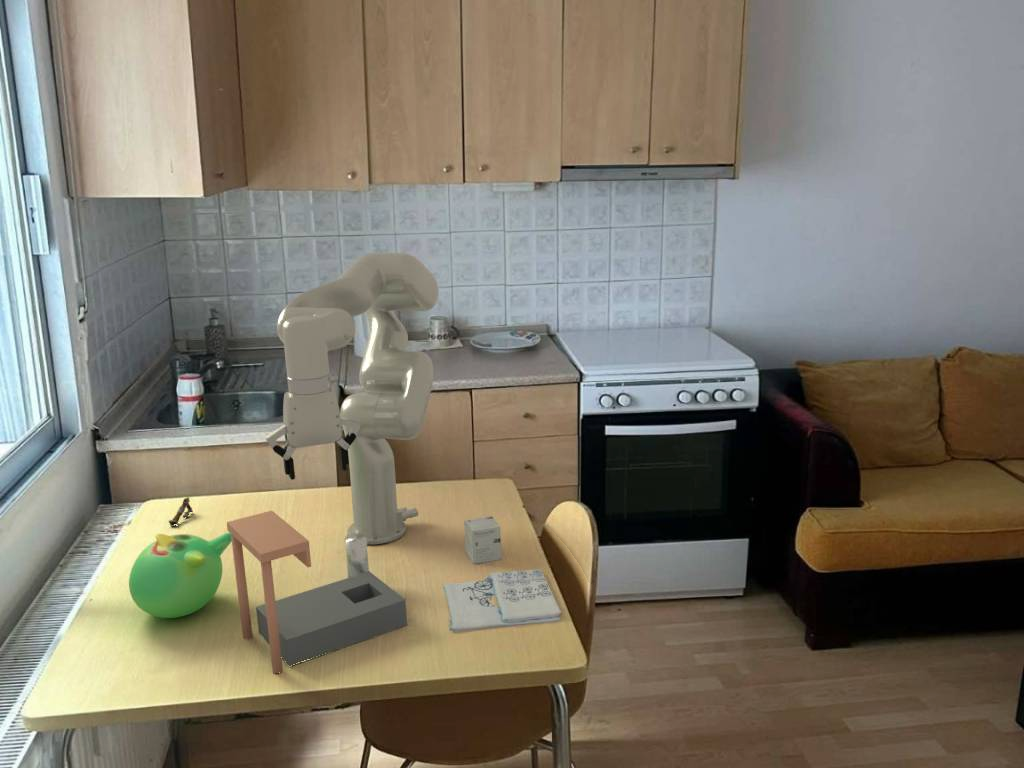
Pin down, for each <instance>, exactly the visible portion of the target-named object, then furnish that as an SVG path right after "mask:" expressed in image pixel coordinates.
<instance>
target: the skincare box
mask: <svg viewBox="0 0 1024 768" xmlns="http://www.w3.org/2000/svg"><path fill="white" fill-rule="evenodd" d="M463 525H464V541H465V542H464V544H465V545H464V548H465V552H464V553H465V554H466V555H467V557H468V558H469V560H470V561H471V563H472V564H474V565H475V564H481V563H487V562H493V561H500V560H501V559H502V548H501V547H502V543H501V526H500V524H499V523H498V522H497V520H496V519H495V518H494V517H493V516H484V517H475V518H471V519H464V523H463Z"/></svg>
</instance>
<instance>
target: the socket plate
mask: <svg viewBox="0 0 1024 768" xmlns="http://www.w3.org/2000/svg"><path fill="white" fill-rule="evenodd" d="M275 602H276V612H277V621H278V630H279V640H280V649H281V657H282V660H284V661H286V663H287V664H288V665H289V666H291V665H293V664H296V663H298V662H301V661H304V660H307V659H311V658H313V657H316V656H319V655H322V654H325V653H328V652H331V651H334V650H336V651H338V650H337V649H339V650H341V649H340V648H342V649H344V648H343V647H345V648H347V647H346V646H348V647H349V645H350V646H353V645H355V643H356V644H359V643H362V642H364V641H367V640H369V639H373V638H375V637H378V636H381V635H383V634H387V633H389V632H391V631H395V630H398V629H401V628H403V627H407V626H408V621H407V620H408V618H407V605H406V603H407V601H406V599H405V598H404V597H403V596H401V595H400V594H399V593H397V591H395V590H393V588H392V587H390V586H389V585H387V583H385V582H384V581H382V580H381V579H380V578H379V577H377V576H376V575H375V574H374V573H372V572H371V571H370V570H369V572H366V573H362V574H359V575H356V576H353V577H350V578H348V577H346V578H344V579H341V580H338V581H334V582H331V583H327V584H324V585H322V586H318V587H315V588H313V589H309V590H306V591H303V592H299V593H296V594H292V595H290V596H287V597H283V598H279V599H277V600H275ZM255 611H256V618H257V628H258V629H257V630H258V634H260V636H261V635H262V636H263V637H264V638H263V637H262V636H261V637H262V638H263V639H264V640H265V642H266V643H267V644H268V643H269V644H270V642H269V633H268V624H267V615H266V606H265V603H264V604H261V605H258V606H255ZM269 644H268V645H269ZM352 644H353V645H352ZM334 652H335V651H334ZM331 653H332V652H331ZM328 654H329V653H328ZM325 655H326V654H325ZM322 656H323V655H322ZM311 660H312V659H311ZM284 661H283V662H284ZM286 663H285V664H286ZM287 664H286V665H287ZM288 665H287V666H288ZM289 666H288V667H289Z"/></svg>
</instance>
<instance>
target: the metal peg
mask: <svg viewBox="0 0 1024 768" xmlns="http://www.w3.org/2000/svg"><path fill="white" fill-rule="evenodd" d="M344 542H345V543H344V545H345V554H346V567H347V578H350V577H353V576H356V575H359V574H362V573H366V572H369V571H370V568H369V556H368V544H367V541H366V536H365V535H363V534H352V535H349V536H348V535H347V536H346V537H345V538H344Z"/></svg>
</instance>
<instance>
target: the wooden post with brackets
mask: <svg viewBox="0 0 1024 768" xmlns="http://www.w3.org/2000/svg"><path fill="white" fill-rule="evenodd" d="M186 509H187V510H186ZM190 512H192V513H193V512H194V511H193V507H192V506H191V505H190V497H185V498H184V499H183V500H182V504H181V506H179V508H178V510H177V512H176V514H175V516H174V517H173V518H172V519H169V520H168V523H169V525H170V526H171V525H174V524H177V525H179V521H180V519H181V516H182V518H185V517H187V516H188V515H190ZM188 517H189V516H188Z"/></svg>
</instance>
